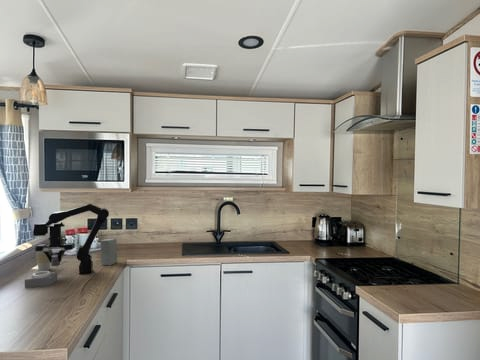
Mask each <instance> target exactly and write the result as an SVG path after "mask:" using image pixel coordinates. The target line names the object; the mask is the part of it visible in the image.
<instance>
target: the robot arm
mask: <svg viewBox="0 0 480 360" xmlns="http://www.w3.org/2000/svg"><path fill="white" fill-rule="evenodd" d="M87 212H91V213H93V214H95V215H97V216H96V219H95V222H94V224H93V226H92V229H91V231H90V232H89V235H88V236H87V238H86V239H85V241H84V243H83V244H80V245H79V247H78V249H77V251H76V252H75V253H76V259H77V260H78V261H79V265H78V274H79V275H87V274H92V273H94V270H95V269H94V268H93V265H94V264H93V262H94V261H93V259H92V258H93V256H92V255H91V254H90V250H91V246H92V244H93V242H94V241H95V239H96V237H97V235H98V233H99V231H100V228H101V226H102V225H103V224H104V222H105V221H106V220H107V219H108V217H109V216H110V211H109V210H108V209H107V208H105V207H103V208H101V207H100V206H97V205H94V204H92V203H88V204H85V205H81V206H78V207H75V208H72V209H67V210H63V211H62V210H61V211H54V212H52V213H51V214H50V215H49V216H48V220H47V221H46V222H45V223H34V224H33V231H32V234H33V235H32V236H33V237H40V236H41V237H45V236H47V235H49V237H48V240H49V244H50V245H49V246H47V244H48V243H40V245H39V244H37V245H38V246H37V245H36V246H35V247H36V248H35V247H34V250H35V252H36V251H42V250H43V253H45V255H46V256H47V257H48V259H49V261H50V264H51V252H52V253H53V249H54V250H58V249H59V251H58V252H59V262H60V263H62V260H63V257H64V255H65V254H66V253H65V252H66V251H72V250H74V249H75V248H76V244H75V243H74V242H71V243H70V242H68V243H65V242H66V240H65V238H63V236H62V228H63V227H65V224H64V222H62V221H64V220H66V219H68V218H70V217H73V216H77V215H80V214H83V213H87Z"/></svg>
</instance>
